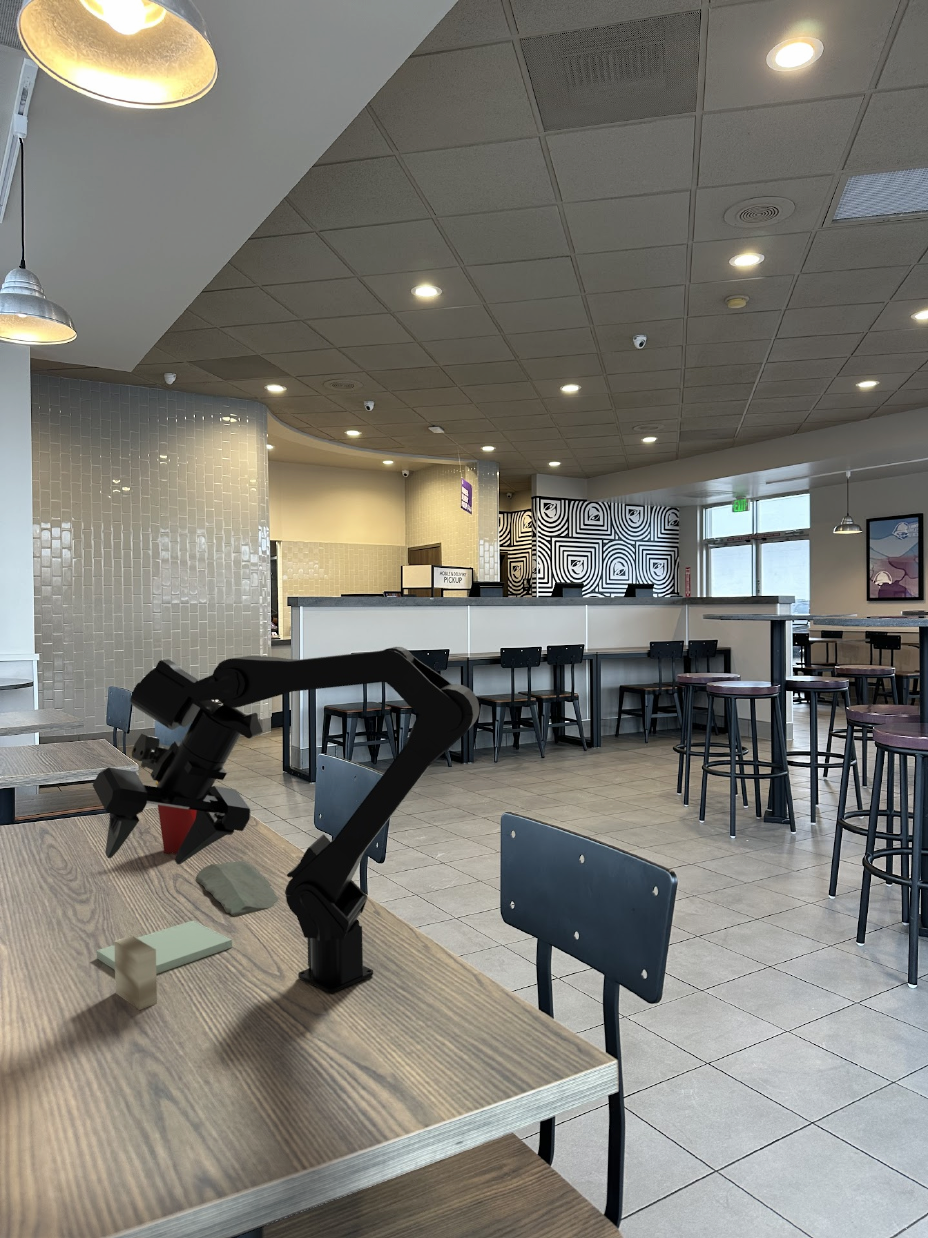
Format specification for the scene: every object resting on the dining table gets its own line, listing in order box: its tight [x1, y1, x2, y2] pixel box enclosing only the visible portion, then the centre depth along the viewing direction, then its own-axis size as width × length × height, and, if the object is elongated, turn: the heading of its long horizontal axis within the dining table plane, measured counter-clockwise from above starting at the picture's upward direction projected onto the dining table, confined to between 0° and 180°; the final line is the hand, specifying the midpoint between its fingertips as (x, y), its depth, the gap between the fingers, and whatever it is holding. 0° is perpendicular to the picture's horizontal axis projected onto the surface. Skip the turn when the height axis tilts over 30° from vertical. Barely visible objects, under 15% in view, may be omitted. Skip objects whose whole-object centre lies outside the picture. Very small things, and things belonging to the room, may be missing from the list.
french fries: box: [155, 781, 197, 855], centre depth 149 cm, size 9×8×15 cm
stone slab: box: [195, 860, 279, 917], centre depth 127 cm, size 22×3×10 cm
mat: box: [96, 920, 233, 975], centre depth 103 cm, size 10×13×1 cm
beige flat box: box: [113, 935, 158, 1011], centre depth 91 cm, size 6×2×6 cm, turn 47°
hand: (143, 859), depth 98 cm, fingers open, 9 cm apart
